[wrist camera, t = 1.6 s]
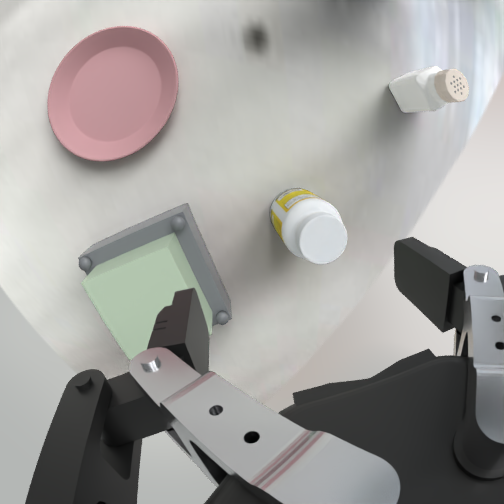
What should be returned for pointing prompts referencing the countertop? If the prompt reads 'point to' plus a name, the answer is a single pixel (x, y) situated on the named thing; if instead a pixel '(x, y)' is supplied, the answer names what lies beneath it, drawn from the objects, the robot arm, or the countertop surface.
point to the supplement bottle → (308, 226)
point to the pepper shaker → (429, 89)
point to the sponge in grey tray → (151, 276)
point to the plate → (112, 93)
